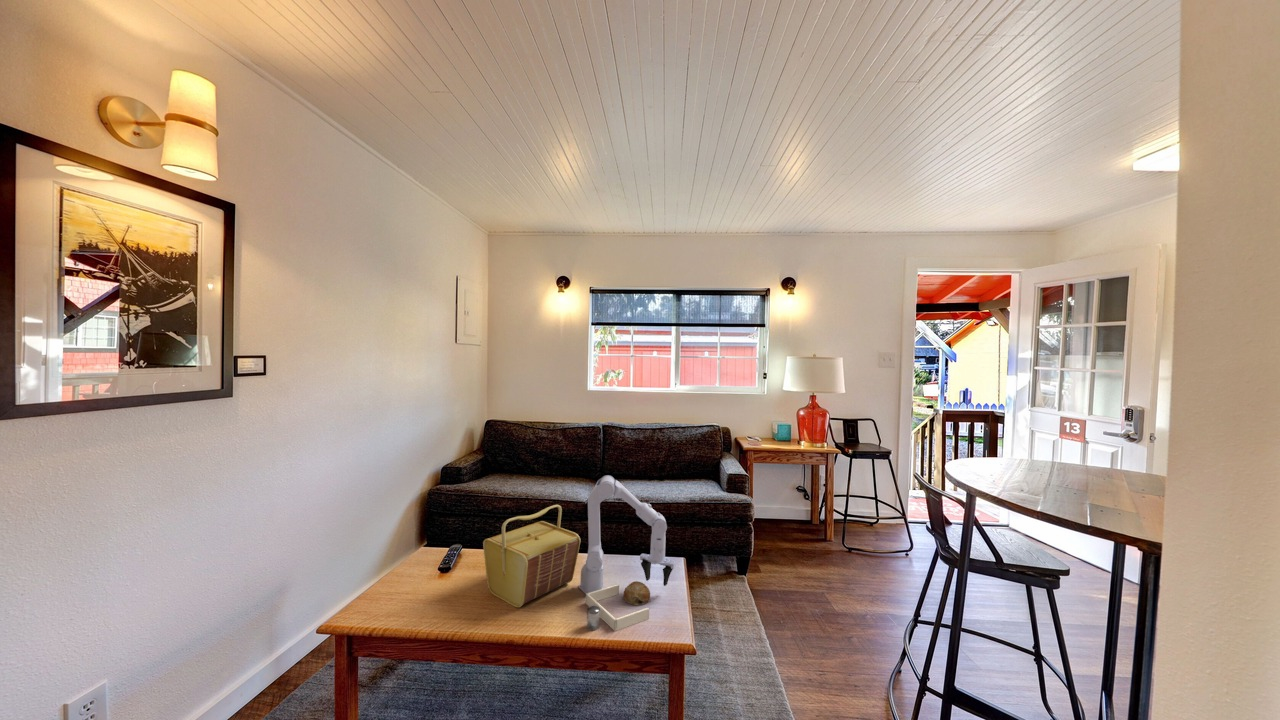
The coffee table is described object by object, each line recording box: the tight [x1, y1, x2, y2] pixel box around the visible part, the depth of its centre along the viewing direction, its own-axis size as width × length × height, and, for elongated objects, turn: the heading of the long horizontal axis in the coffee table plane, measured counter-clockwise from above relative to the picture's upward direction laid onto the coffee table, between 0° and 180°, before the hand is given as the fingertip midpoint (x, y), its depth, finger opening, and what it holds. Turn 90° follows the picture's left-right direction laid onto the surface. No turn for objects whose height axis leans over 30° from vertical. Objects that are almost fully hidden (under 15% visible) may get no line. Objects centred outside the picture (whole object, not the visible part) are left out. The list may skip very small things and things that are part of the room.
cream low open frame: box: [585, 583, 650, 632], centre depth 163 cm, size 20×14×4 cm
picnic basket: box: [482, 504, 581, 609], centre depth 176 cm, size 29×26×30 cm
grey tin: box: [586, 606, 600, 632], centre depth 152 cm, size 4×4×6 cm
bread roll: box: [623, 580, 651, 606], centre depth 172 cm, size 10×10×8 cm
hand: (656, 582), depth 177 cm, fingers open, 7 cm apart
